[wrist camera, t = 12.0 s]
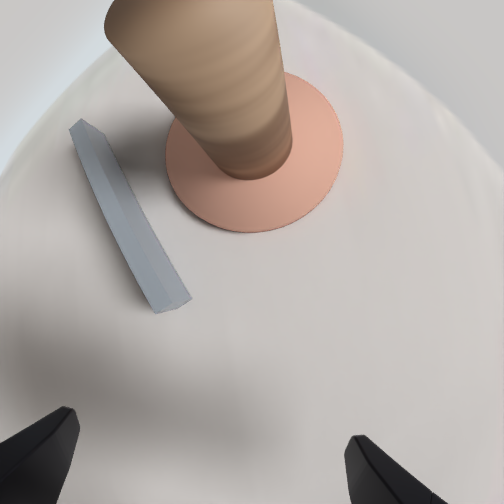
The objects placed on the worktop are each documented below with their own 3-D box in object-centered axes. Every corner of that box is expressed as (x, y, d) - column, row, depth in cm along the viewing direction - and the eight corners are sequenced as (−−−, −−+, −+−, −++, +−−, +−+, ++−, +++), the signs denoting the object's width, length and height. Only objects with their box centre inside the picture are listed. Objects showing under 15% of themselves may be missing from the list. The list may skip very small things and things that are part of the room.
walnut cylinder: (309, 150, 18) (305, -11, 6) (236, 196, 18) (133, 84, 6) (262, 92, 18) (215, -63, 7) (196, 134, 19) (89, 8, 7)
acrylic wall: (192, 298, 19) (172, 302, 16) (177, 308, 19) (155, 314, 16) (103, 133, 21) (81, 118, 18) (92, 143, 21) (68, 129, 18)
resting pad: (369, 197, 18) (372, 195, 17) (193, 257, 19) (190, 257, 18) (302, 55, 19) (302, 50, 18) (155, 109, 20) (151, 106, 20)
